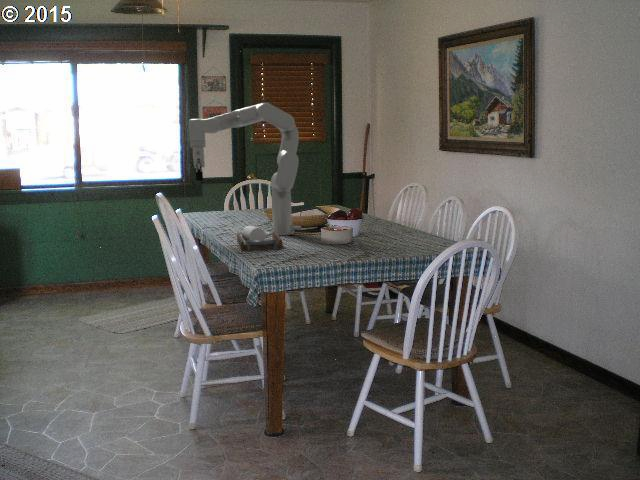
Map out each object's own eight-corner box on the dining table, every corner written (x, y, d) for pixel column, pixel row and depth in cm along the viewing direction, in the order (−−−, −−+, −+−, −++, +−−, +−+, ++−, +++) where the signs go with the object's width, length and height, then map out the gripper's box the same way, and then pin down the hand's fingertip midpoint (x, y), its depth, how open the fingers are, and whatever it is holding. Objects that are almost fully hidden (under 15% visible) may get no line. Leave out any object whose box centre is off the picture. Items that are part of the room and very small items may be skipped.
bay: (275, 239, 375) (274, 230, 374) (283, 249, 345) (282, 240, 345) (237, 241, 371) (236, 232, 371) (241, 251, 342) (241, 241, 341)
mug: (249, 245, 359) (249, 228, 357) (241, 242, 367) (241, 226, 366) (273, 243, 364) (273, 226, 363) (265, 240, 373) (264, 224, 372)
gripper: (205, 144, 368) (207, 180, 370) (205, 143, 385) (206, 178, 387) (189, 145, 366) (191, 181, 369) (189, 144, 383) (191, 178, 386)
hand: (199, 179), depth 378 cm, fingers open, 9 cm apart
